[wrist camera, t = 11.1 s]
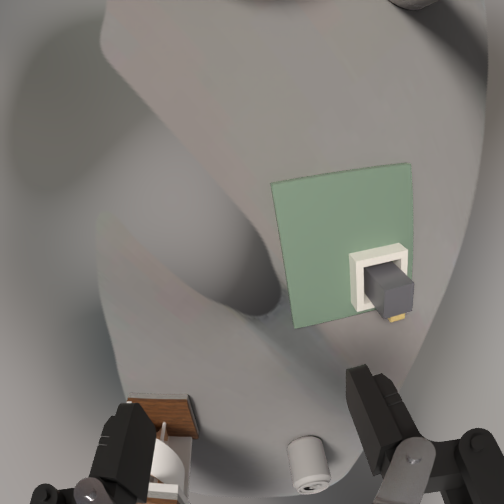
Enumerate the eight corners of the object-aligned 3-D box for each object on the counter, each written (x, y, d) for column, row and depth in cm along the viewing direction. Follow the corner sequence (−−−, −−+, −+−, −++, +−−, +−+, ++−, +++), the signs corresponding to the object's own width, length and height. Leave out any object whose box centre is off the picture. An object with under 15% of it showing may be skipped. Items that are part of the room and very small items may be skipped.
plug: (362, 265, 39) (384, 290, 32) (389, 258, 39) (414, 282, 32) (363, 296, 41) (383, 324, 34) (388, 289, 41) (411, 316, 34)
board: (270, 183, 36) (274, 189, 32) (406, 162, 35) (421, 166, 32) (293, 323, 43) (297, 339, 40) (406, 295, 43) (417, 308, 40)
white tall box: (198, 430, 52) (193, 597, 20) (146, 429, 52) (122, 586, 19) (187, 394, 48) (172, 594, 15) (129, 392, 47) (87, 575, 15)
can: (279, 446, 56) (286, 493, 45) (304, 430, 54) (315, 479, 43) (303, 454, 58) (312, 498, 47) (328, 438, 56) (340, 483, 45)
